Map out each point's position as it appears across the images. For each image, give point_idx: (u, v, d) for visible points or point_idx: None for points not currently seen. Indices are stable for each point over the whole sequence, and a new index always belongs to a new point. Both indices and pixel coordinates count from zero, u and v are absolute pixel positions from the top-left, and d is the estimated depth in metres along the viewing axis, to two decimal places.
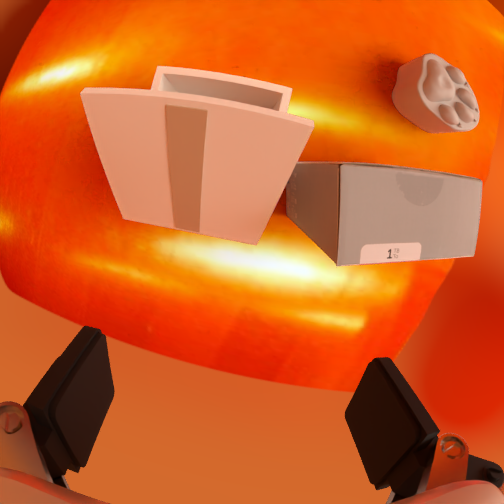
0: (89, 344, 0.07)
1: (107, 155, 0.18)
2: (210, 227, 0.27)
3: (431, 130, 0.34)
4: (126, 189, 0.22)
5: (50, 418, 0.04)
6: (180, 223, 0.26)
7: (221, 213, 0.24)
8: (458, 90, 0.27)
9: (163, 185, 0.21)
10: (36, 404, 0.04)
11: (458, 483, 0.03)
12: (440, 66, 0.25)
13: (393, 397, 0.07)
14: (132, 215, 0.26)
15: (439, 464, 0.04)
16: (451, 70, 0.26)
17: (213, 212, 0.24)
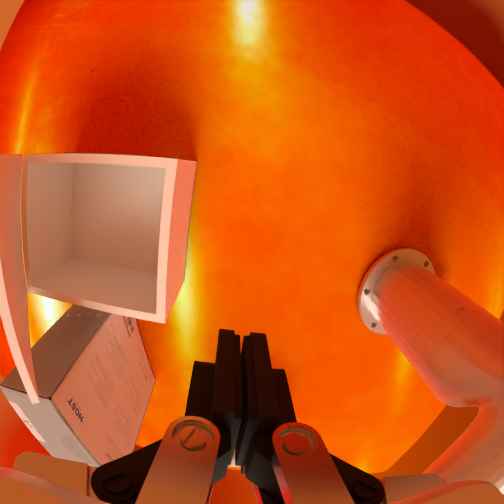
0: (234, 345, 0.09)
1: None
2: None
3: None
4: None
5: (233, 421, 0.06)
6: None
7: None
8: None
9: None
10: (225, 410, 0.06)
11: (458, 483, 0.03)
12: None
13: (248, 371, 0.08)
14: None
15: (292, 469, 0.05)
16: None
17: None
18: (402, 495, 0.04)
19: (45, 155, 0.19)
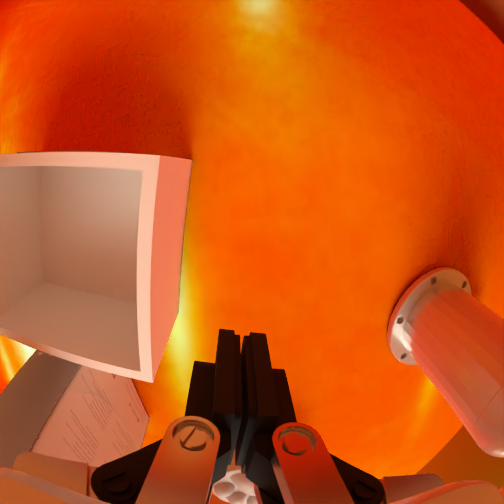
0: (234, 345, 0.09)
1: None
2: None
3: None
4: None
5: (233, 421, 0.06)
6: None
7: None
8: None
9: None
10: (225, 410, 0.06)
11: (458, 483, 0.03)
12: None
13: (248, 371, 0.08)
14: None
15: (292, 469, 0.05)
16: None
17: None
18: (401, 495, 0.04)
19: None
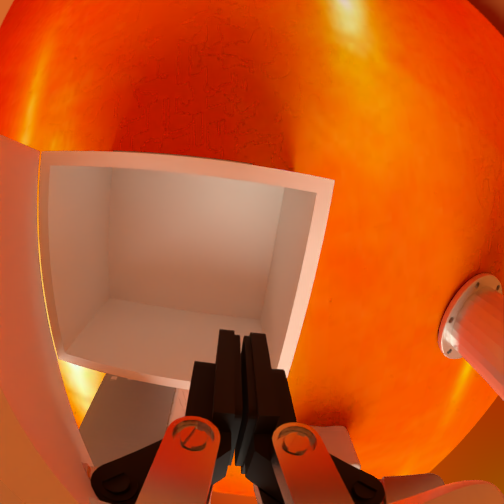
0: (235, 345, 0.09)
1: None
2: None
3: None
4: None
5: (233, 421, 0.06)
6: None
7: None
8: None
9: None
10: (225, 410, 0.06)
11: (458, 483, 0.03)
12: None
13: (247, 371, 0.08)
14: None
15: (292, 469, 0.05)
16: None
17: None
18: (401, 495, 0.04)
19: (83, 153, 0.12)
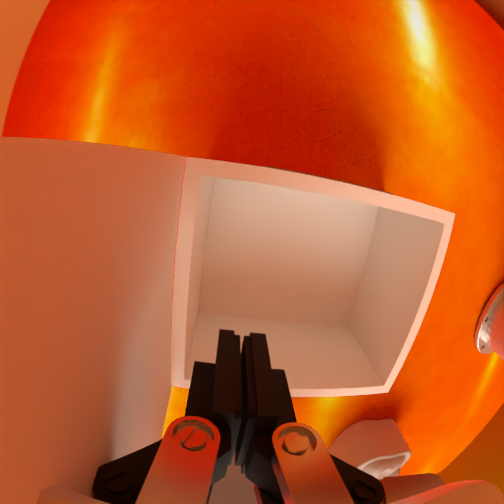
0: (235, 345, 0.09)
1: None
2: None
3: None
4: None
5: (233, 421, 0.06)
6: None
7: None
8: None
9: None
10: (225, 410, 0.06)
11: (458, 483, 0.03)
12: (399, 466, 0.26)
13: (247, 371, 0.08)
14: None
15: (292, 469, 0.05)
16: (395, 472, 0.28)
17: None
18: (402, 495, 0.04)
19: (250, 168, 0.13)
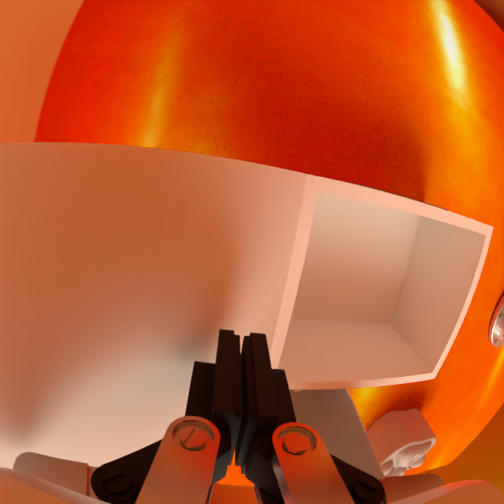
0: (235, 345, 0.09)
1: None
2: None
3: None
4: None
5: (233, 421, 0.06)
6: None
7: None
8: None
9: None
10: (225, 410, 0.06)
11: (458, 483, 0.03)
12: (426, 452, 0.28)
13: (248, 371, 0.08)
14: None
15: (292, 469, 0.05)
16: (422, 457, 0.29)
17: None
18: (402, 495, 0.04)
19: (359, 188, 0.14)
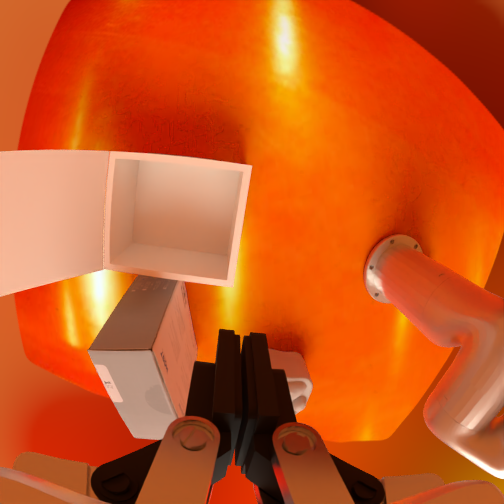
0: (234, 345, 0.09)
1: None
2: None
3: None
4: None
5: (233, 421, 0.06)
6: None
7: None
8: None
9: None
10: (225, 410, 0.06)
11: (458, 483, 0.03)
12: (299, 392, 0.42)
13: (248, 371, 0.08)
14: None
15: (292, 469, 0.05)
16: (300, 400, 0.43)
17: None
18: (402, 495, 0.04)
19: (134, 153, 0.28)
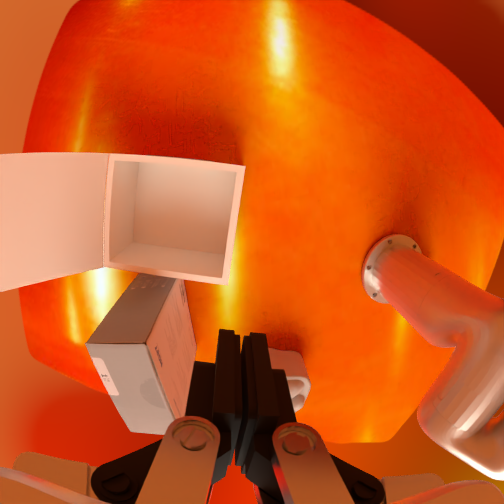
0: (234, 345, 0.09)
1: None
2: None
3: None
4: None
5: (233, 421, 0.06)
6: None
7: None
8: None
9: None
10: (225, 410, 0.06)
11: (458, 483, 0.03)
12: (297, 391, 0.42)
13: (248, 371, 0.08)
14: None
15: (292, 469, 0.05)
16: (298, 399, 0.43)
17: None
18: (402, 495, 0.04)
19: (132, 155, 0.29)
